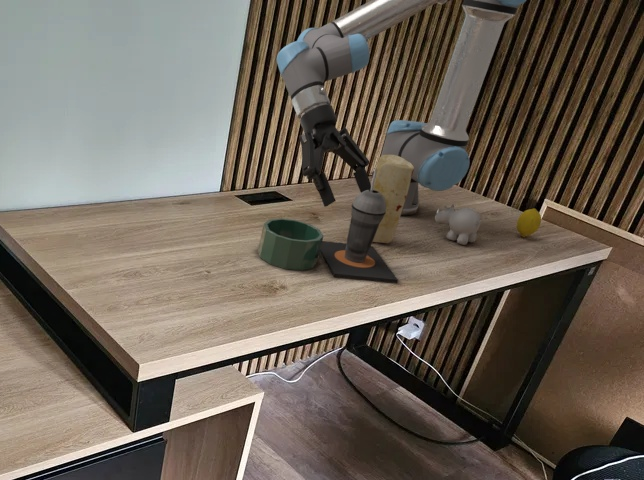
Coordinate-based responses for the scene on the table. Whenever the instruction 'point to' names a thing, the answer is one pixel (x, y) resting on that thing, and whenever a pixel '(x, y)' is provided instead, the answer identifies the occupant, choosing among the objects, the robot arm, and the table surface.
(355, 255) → the beverage cup
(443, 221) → the toy rhinoceros
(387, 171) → the food model
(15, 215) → the table surface
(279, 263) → the pot
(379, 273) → the mat
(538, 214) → the lemon
